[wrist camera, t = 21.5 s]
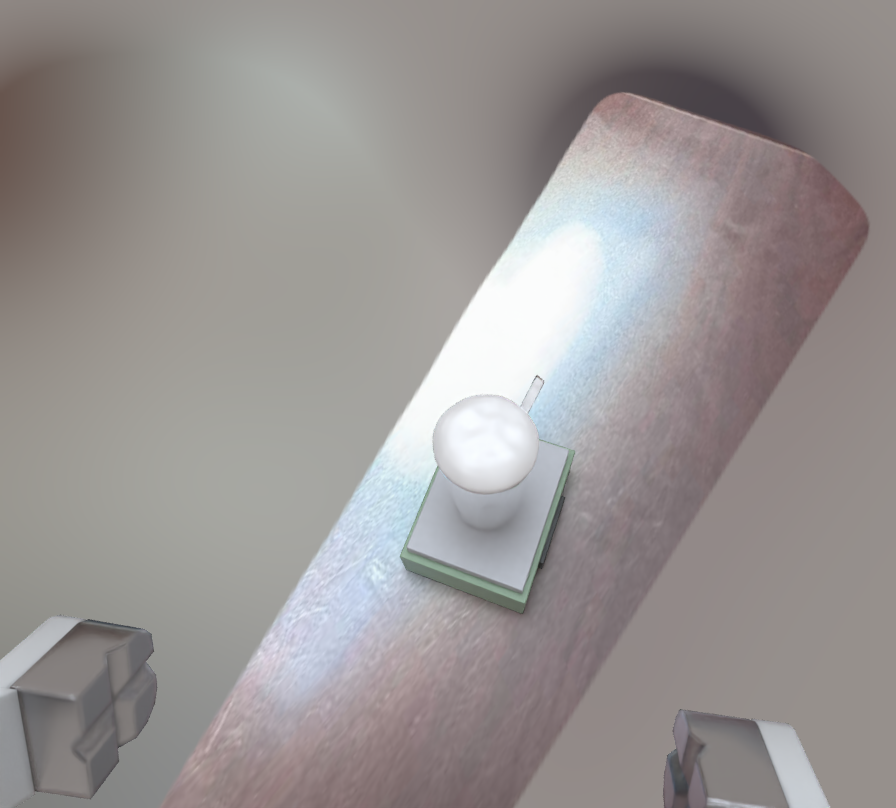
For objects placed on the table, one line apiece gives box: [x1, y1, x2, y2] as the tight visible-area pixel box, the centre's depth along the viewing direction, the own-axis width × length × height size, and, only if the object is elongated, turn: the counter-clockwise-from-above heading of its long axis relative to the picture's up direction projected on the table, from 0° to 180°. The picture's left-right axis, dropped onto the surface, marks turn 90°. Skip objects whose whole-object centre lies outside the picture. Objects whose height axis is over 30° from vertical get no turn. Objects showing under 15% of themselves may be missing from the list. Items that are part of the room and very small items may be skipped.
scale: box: [400, 439, 575, 614], centre depth 38 cm, size 7×9×4 cm
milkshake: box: [433, 375, 544, 531], centre depth 32 cm, size 4×5×10 cm
